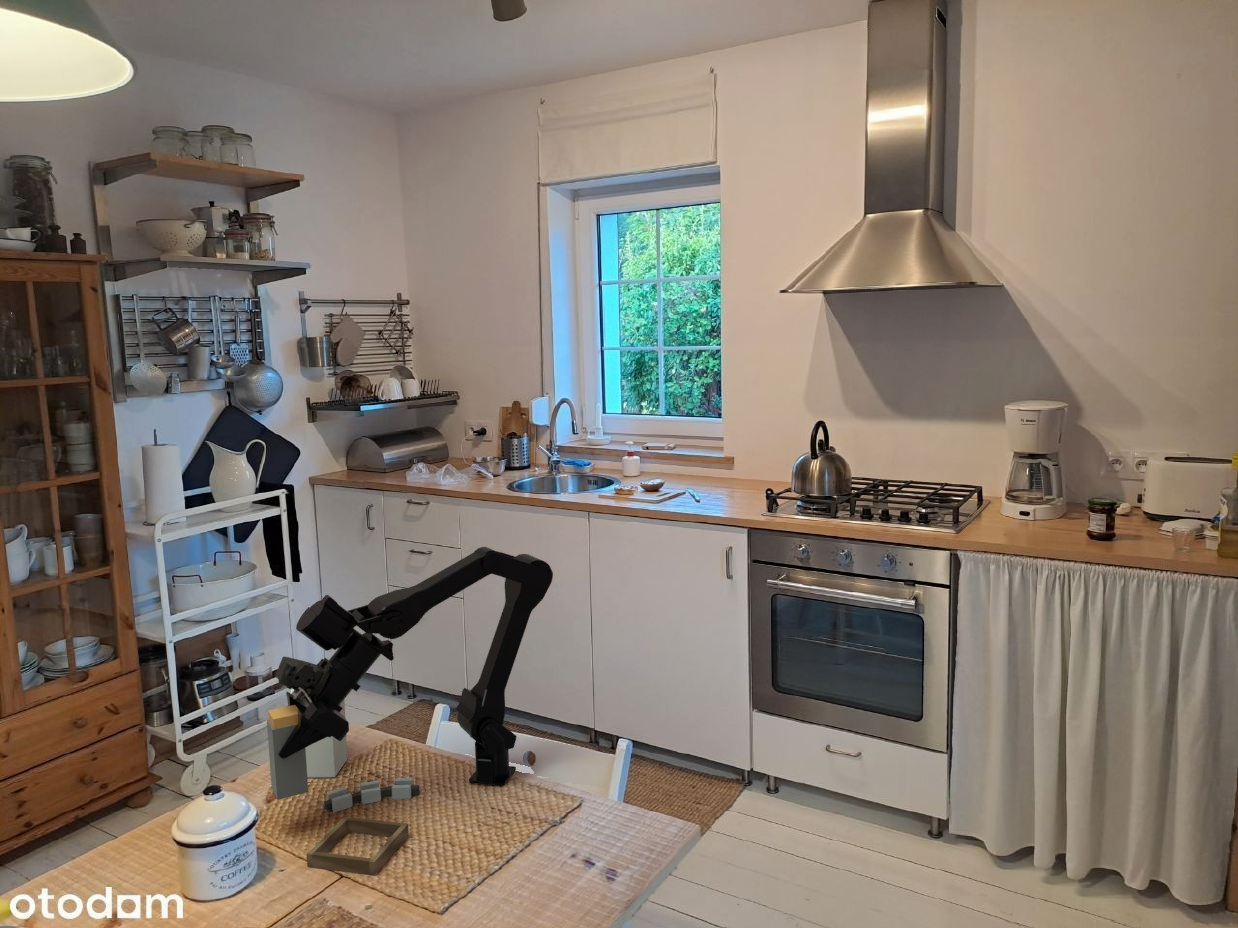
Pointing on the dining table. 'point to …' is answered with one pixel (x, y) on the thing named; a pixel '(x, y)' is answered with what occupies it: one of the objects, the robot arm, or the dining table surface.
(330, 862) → the brown flat square frame
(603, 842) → the dining table surface
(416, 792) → the grey jointed bar
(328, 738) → the milk carton
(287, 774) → the grey box with lid
